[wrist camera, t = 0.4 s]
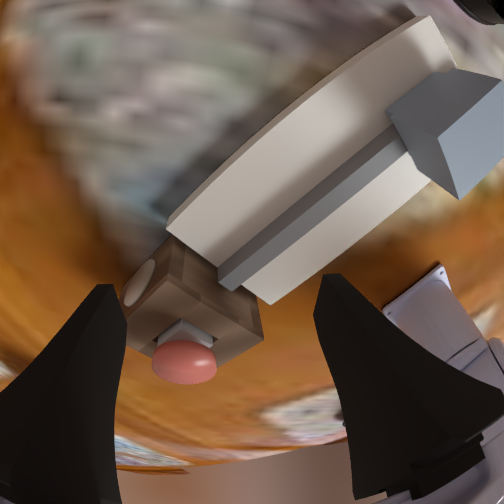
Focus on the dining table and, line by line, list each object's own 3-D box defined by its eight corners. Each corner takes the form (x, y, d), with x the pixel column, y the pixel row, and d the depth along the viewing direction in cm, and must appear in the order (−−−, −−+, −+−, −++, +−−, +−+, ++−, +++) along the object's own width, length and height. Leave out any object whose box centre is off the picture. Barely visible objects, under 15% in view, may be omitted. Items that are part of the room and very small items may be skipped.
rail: (469, 128, 16) (495, 140, 14) (267, 292, 23) (274, 319, 21) (416, 16, 11) (445, 14, 9) (168, 217, 18) (162, 242, 16)
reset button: (225, 311, 20) (230, 368, 16) (190, 336, 22) (189, 389, 18) (181, 283, 18) (176, 342, 14) (148, 313, 20) (140, 368, 16)
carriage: (459, 115, 14) (517, 141, 9) (405, 162, 16) (459, 200, 11) (438, 65, 12) (502, 80, 7) (377, 112, 14) (437, 137, 9)
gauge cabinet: (254, 289, 23) (264, 339, 19) (197, 331, 25) (197, 378, 21) (173, 229, 19) (163, 278, 15) (120, 285, 21) (106, 334, 17)
